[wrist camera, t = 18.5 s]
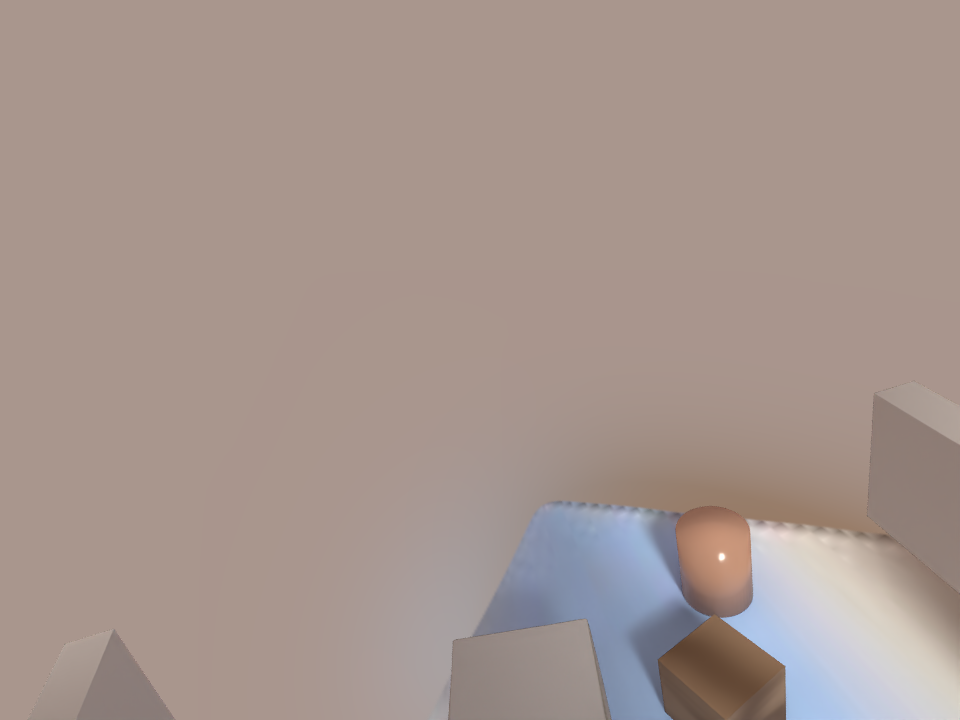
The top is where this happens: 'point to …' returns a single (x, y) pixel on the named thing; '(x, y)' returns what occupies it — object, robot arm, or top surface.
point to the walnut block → (721, 677)
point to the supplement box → (528, 675)
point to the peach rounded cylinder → (715, 561)
